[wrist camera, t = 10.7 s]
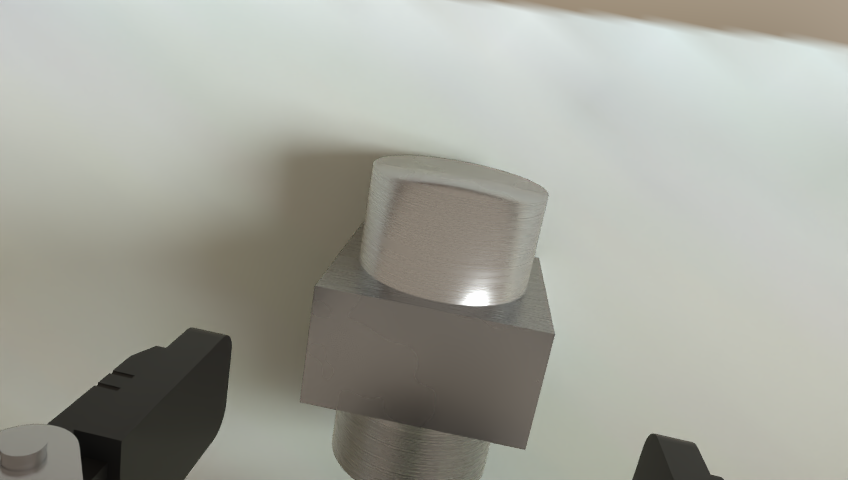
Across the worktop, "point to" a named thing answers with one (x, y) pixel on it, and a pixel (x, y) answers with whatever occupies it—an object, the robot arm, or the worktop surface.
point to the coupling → (432, 322)
